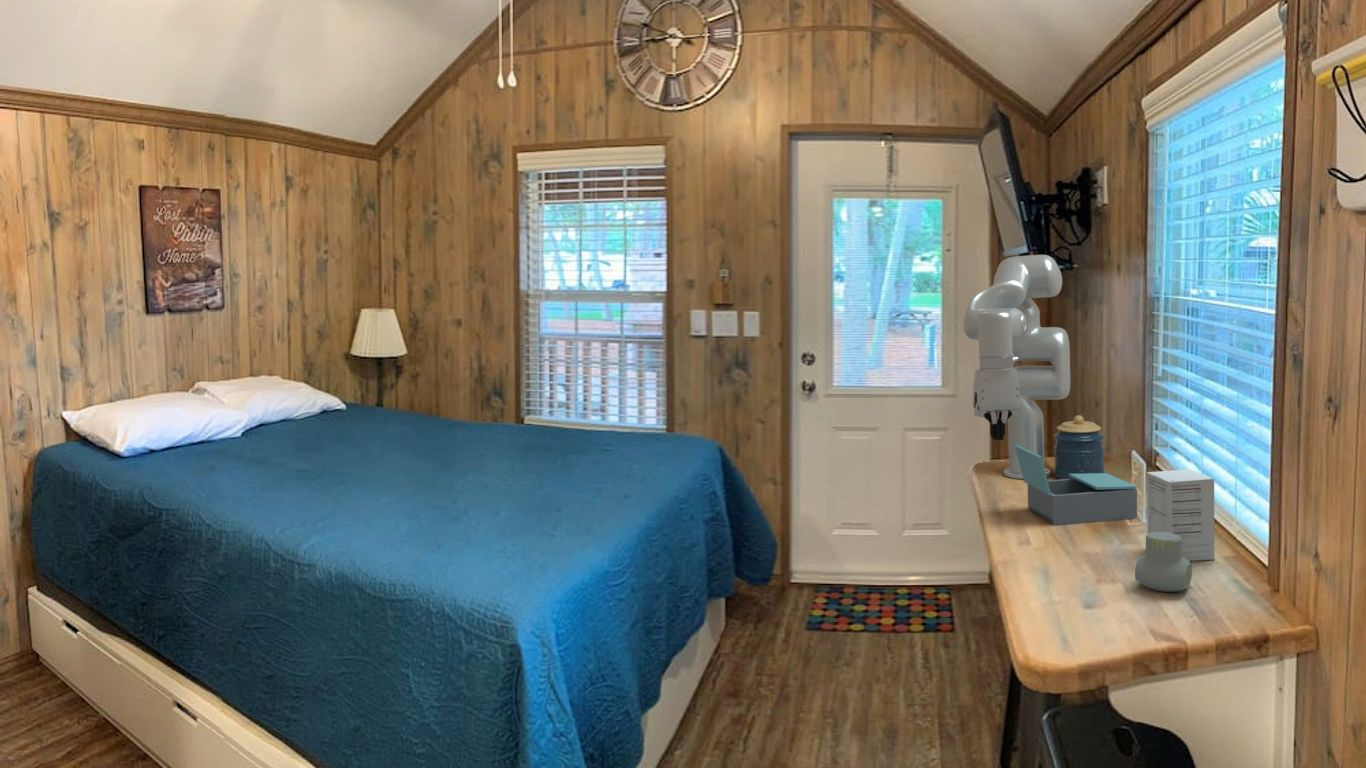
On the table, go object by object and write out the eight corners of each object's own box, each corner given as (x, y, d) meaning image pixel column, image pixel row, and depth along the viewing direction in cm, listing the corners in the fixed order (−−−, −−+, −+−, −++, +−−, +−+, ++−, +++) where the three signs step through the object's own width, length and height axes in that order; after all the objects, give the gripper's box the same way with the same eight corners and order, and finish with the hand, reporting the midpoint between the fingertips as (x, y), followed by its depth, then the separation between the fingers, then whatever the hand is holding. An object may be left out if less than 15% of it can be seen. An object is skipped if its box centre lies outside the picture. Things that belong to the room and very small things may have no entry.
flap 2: (1068, 476, 219) (1069, 473, 218) (1106, 475, 219) (1106, 473, 219) (1096, 489, 205) (1096, 487, 205) (1136, 488, 205) (1136, 486, 205)
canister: (1057, 482, 242) (1056, 420, 239) (1052, 471, 254) (1050, 411, 252) (1108, 482, 238) (1108, 419, 236) (1100, 471, 250) (1100, 410, 248)
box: (1028, 509, 219) (1027, 482, 219) (1106, 502, 220) (1106, 475, 219) (1053, 525, 206) (1053, 496, 205) (1137, 518, 206) (1136, 489, 205)
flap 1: (1026, 480, 218) (1024, 481, 218) (1017, 444, 217) (1014, 445, 217) (1051, 494, 205) (1048, 495, 205) (1041, 456, 204) (1038, 457, 204)
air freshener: (1145, 574, 172) (1145, 525, 170) (1193, 581, 166) (1194, 530, 165) (1132, 592, 163) (1132, 541, 162) (1182, 600, 158) (1182, 547, 157)
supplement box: (1216, 560, 176) (1216, 479, 174) (1169, 563, 177) (1169, 482, 174) (1189, 545, 186) (1189, 468, 184) (1145, 548, 186) (1145, 471, 184)
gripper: (1020, 359, 211) (1021, 434, 213) (959, 364, 211) (961, 438, 213) (1033, 362, 204) (1035, 439, 206) (970, 367, 203) (972, 444, 205)
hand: (997, 439), depth 209 cm, fingers closed
